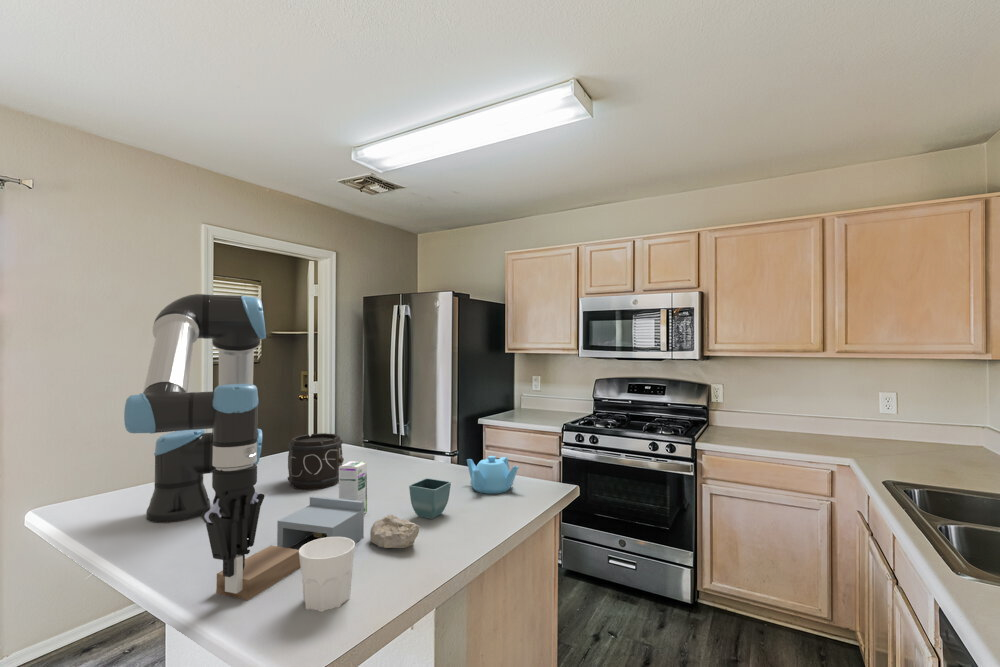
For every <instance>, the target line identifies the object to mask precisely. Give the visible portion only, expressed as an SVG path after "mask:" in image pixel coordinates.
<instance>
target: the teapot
mask: <svg viewBox="0 0 1000 667" xmlns="http://www.w3.org/2000/svg"><path fill="white" fill-rule="evenodd" d="M466 463H467V467H468V472H469V476H470V486H471V487H472V488H473V490H475V491H476V492H478V493H480V494H489V495H491V494H493V495H494V494H502V493H505V492H508V490H510V488H511V487H512V486H513V483H514V481H515V478H516V475H517V473H518V469H519V466H518V465H517V466H516V465H513V466H512V468H511V469H510V464H509V459H508V457H507V456H506V457H505V456H501V457H500V458H497V456H496V455H488V456H487V458H486V459H481V460H480V461H479V462H478V463H477V465H476V464H475V463H474V460H473V459H471V458H468V459H466Z"/></svg>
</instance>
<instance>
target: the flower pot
mask: <svg viewBox="0 0 1000 667" xmlns="http://www.w3.org/2000/svg"><path fill="white" fill-rule="evenodd" d="M451 483H452V481H447V480H446V481H445V480H440V479H434V478H428V477H426V478H423V479H421V480H419V481H417V482H414V483H411V484H410V485H409V486H408V489H409V495H410V497H409V499H410V504H411V507H412V509H413V511H414V513H415V514H416V516H417V517H420V518H427V519H430V520H432V519H435V518H437V517H438V516H440V515H442V514H443V512H444V510H446V507H447V506H448V505H447V504H448V503H449V500H450V499H449V498H450V492H451Z"/></svg>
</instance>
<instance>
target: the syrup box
mask: <svg viewBox="0 0 1000 667" xmlns="http://www.w3.org/2000/svg"><path fill="white" fill-rule="evenodd" d="M367 469H368V468H367V462H366V461H360V460H359V461H358V460H357V461H355V460H354V461H350V460H349V461H348V462H347V463H346V462H345V463H344V464H342V466H339V482H338V499H348V500H357V501H364V515H365V514H366V513H368V486H367V485H368V484H367V483H368V481H367V480H368V477H367V476H368V474H367V471H368V470H367Z"/></svg>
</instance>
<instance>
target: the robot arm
mask: <svg viewBox="0 0 1000 667" xmlns="http://www.w3.org/2000/svg"><path fill="white" fill-rule="evenodd" d="M265 325H266V322H265V316H264V309H263V303H262V300H261V299H260V298H259V297H256V296H248V295H235V294H234V295H231V294H204V293H196V294H188V295H185V296H182V297H180V298H178V299H176V300H174V301H173V302H171V303H169V304H168V305H166V306H165V307H164V308H163V309H162V310H160V312H159V313H158V314H157V316H156V318H155V319H154V322H153V326H152V335H153V337H154V344H153V348H152V351H151V352H152V353H151V357H150V362H149V366H148V370H147V374H146V378H145V382H144V387H143V391H142V393H139V394H131V395H129V396H128V397H127V399H125V404H124V411H123V412H124V413H123V414H124V415H123V416H124V418H123V419H124V420H123V421H124V427H125V430H126V431H127V432H128V433H130V434H157V433H165V434H163V435H161V436H159V437H158V438H156V442H155V447H154V449H155V450H154V454H153V456H154V489H153V493H152V495H151V499H150V502H149V505H148V507H147V509H146V514H145V515H146V521H148V522H151V523H155V524H156V523H159V524H163V523H164V524H165V523H174V522H176V523H177V522H181V521H186V520H190V519H194V518H197V517H199V516H200V517H201V519H202V521H203V522H204V523H205V527H206V531H207V536H208V540H209V543H210V549H211V553H212V554H211V555H212V558H213V559H214V560H220V561H221V560H222V571H223V576H225V592H230V593H236V594H237V593H238V592H240V591H241V590H242V587H243V569H244V567H245V559H246V558H245V557H246V555H249V554H250V551H251V549H249V547H251V548H252V547H253V546H254V545H255V540H256V533H257V529H258V522H259V517H260V511H261V506H262V504H263V503H264V502H263V501H264V500H265V494H264V493H259V492H256V488H255V485H256V484H257V482H258V466H257V465H258V463H259V462H260V458H261V453H262V445H263V430H262V429H261V428H258V422H259V420H258V415H259V414H258V413H259V412H258V410H259V402H260V401H259V395H258V394H259V393H258V387H257V385H255V384H254V362H255V361H254V359H255V358H254V357H255V353H254V352H255V350H256V349H257V348H259V347H260V345H261V341H262V340H265V339H266V338H267V334H266V333H267V332H266V326H265ZM198 339H211V341H212V342H211V344H212V346H213V347H214V348H215V349H216V350H218V385H217V386H216V387H215V388H214V390H213V391H199V392H198V391H196V392H194V391H193V392H188V389H189V381H190V372H191V364H192V356H193V349H194V348H193V347H194V343H195V342H197V340H198ZM207 429H208V430H210V429H211V430H212V431H211V432H205V430H207ZM205 474H212V475H211V476H212V478H211V486H212V489H213V491H214V493H215V495H214V498H213V500H212V504H213V505H212V506H211V500H210V497H209V496H208V492H207V489H206V487H205V484H204V475H205Z"/></svg>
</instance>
